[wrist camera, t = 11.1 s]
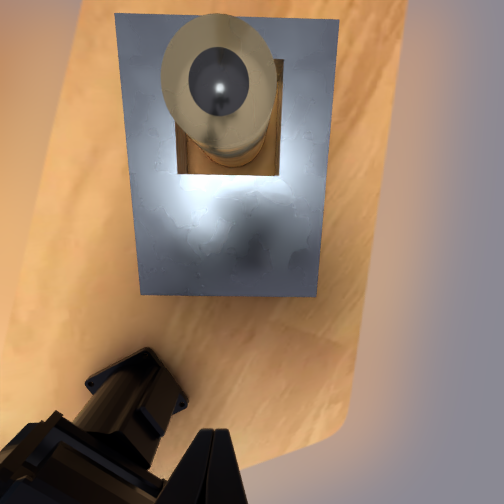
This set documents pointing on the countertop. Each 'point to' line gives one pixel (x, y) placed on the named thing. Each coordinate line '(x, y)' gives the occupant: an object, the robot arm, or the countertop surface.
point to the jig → (229, 186)
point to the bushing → (220, 86)
